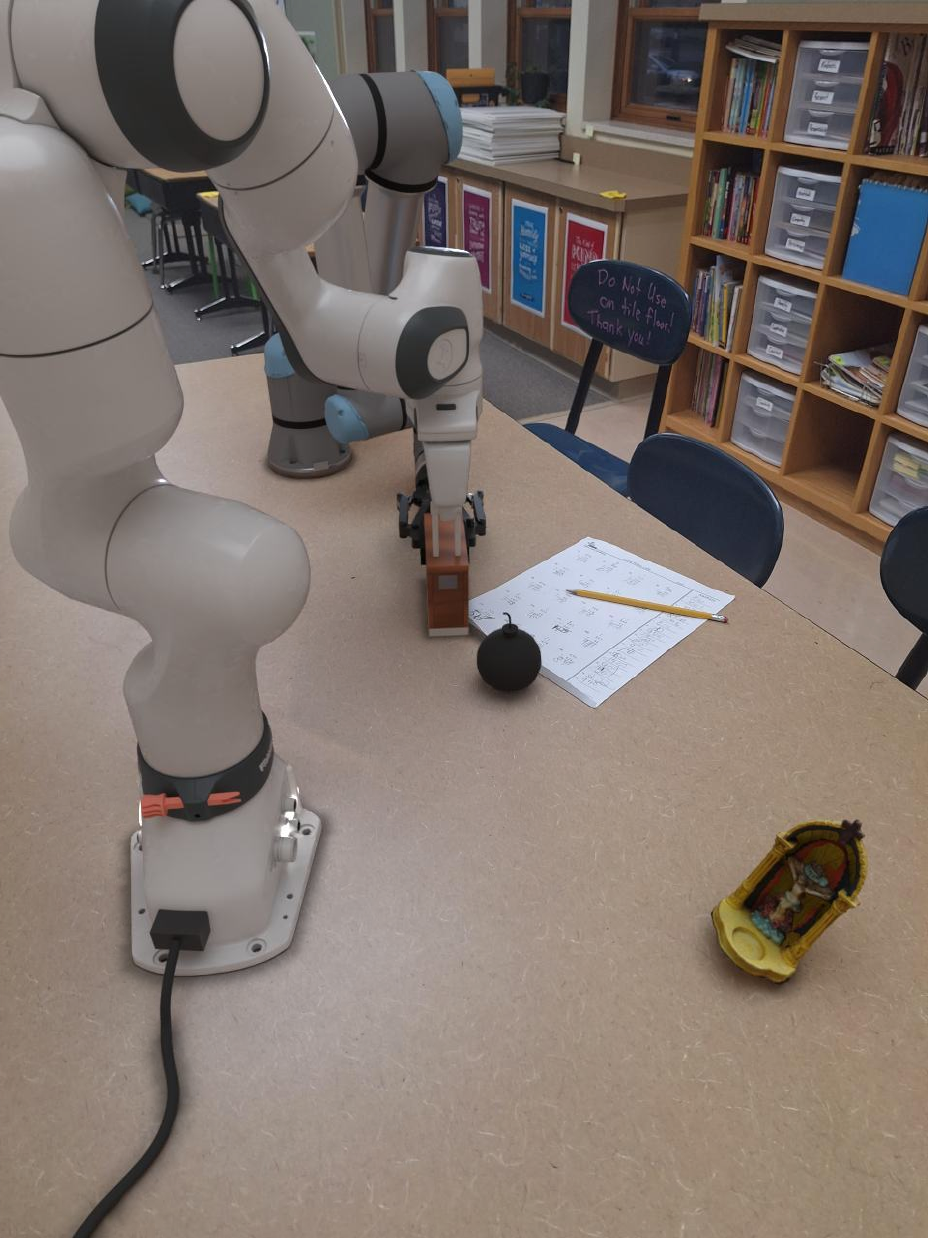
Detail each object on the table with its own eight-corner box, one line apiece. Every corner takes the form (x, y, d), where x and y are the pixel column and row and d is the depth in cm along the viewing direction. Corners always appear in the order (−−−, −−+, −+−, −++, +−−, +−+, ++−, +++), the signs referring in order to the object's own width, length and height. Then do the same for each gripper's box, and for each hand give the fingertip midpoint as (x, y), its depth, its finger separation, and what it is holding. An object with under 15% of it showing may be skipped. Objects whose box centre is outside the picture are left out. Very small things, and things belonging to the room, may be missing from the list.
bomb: (495, 658, 111) (497, 579, 104) (551, 678, 107) (556, 598, 100) (464, 692, 105) (464, 612, 98) (521, 714, 102) (525, 633, 95)
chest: (468, 634, 115) (468, 568, 109) (429, 636, 115) (426, 570, 109) (462, 580, 126) (462, 517, 120) (426, 582, 126) (424, 519, 120)
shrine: (791, 892, 81) (830, 781, 73) (851, 966, 75) (901, 853, 66) (686, 929, 78) (714, 817, 69) (739, 1009, 72) (776, 896, 63)
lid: (468, 571, 109) (468, 510, 104) (426, 572, 108) (424, 512, 103) (462, 517, 120) (461, 460, 115) (424, 518, 120) (422, 462, 115)
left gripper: (414, 366, 106) (418, 469, 114) (417, 433, 89) (422, 548, 98) (465, 365, 106) (466, 467, 114) (478, 431, 90) (477, 546, 98)
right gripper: (495, 499, 140) (510, 576, 121) (382, 503, 139) (379, 581, 120) (496, 457, 136) (511, 530, 117) (379, 460, 135) (376, 534, 116)
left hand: (445, 505), depth 106 cm, fingers open, 5 cm apart
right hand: (444, 555), depth 118 cm, fingers closed on chest, 5 cm apart
